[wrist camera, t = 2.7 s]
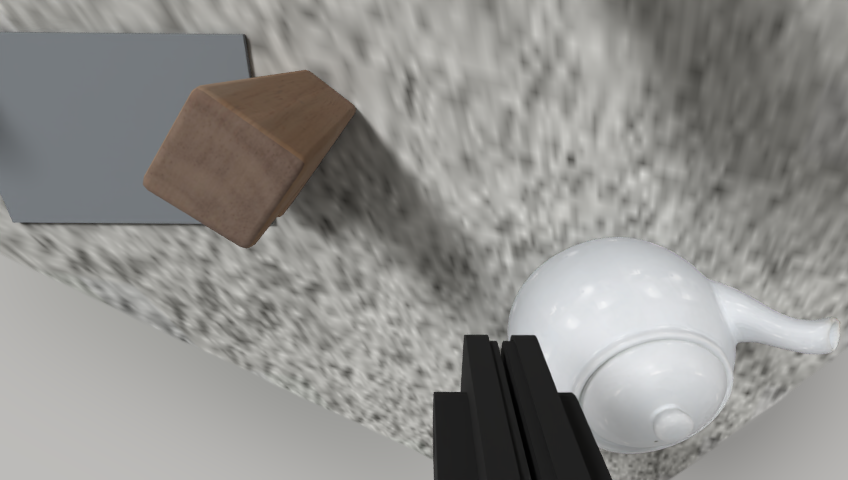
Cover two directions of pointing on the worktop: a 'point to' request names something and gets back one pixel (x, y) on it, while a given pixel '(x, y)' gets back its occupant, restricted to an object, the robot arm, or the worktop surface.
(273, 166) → the wooden block
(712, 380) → the teapot
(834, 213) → the worktop surface
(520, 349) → the robot arm
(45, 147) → the rubber mat
